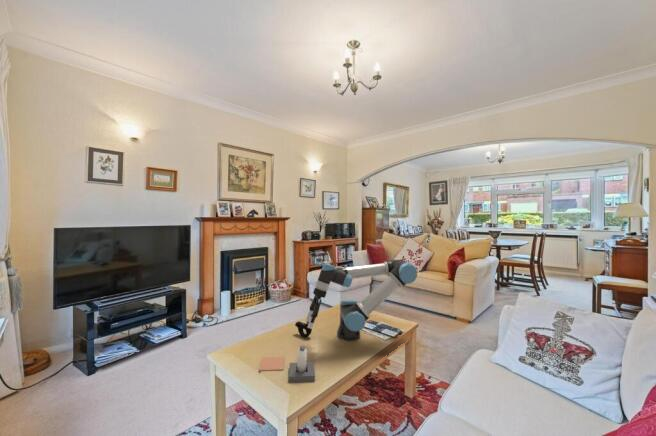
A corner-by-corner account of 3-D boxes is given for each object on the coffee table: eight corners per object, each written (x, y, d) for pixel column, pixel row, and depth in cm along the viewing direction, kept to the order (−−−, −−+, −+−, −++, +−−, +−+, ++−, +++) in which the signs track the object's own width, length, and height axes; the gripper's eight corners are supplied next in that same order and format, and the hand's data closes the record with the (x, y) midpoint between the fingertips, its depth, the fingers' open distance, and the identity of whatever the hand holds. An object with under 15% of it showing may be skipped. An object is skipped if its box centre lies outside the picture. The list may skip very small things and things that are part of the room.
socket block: (313, 367, 141) (313, 362, 141) (314, 382, 129) (314, 375, 129) (289, 368, 140) (289, 362, 140) (288, 383, 128) (289, 376, 128)
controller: (309, 339, 173) (309, 323, 172) (293, 334, 179) (294, 319, 179) (313, 337, 176) (313, 321, 176) (298, 332, 183) (298, 317, 183)
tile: (284, 358, 150) (284, 356, 150) (283, 371, 138) (283, 369, 138) (262, 359, 148) (262, 357, 148) (258, 372, 136) (259, 370, 136)
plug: (306, 371, 137) (306, 344, 137) (306, 376, 133) (307, 348, 132) (297, 371, 137) (297, 344, 136) (297, 376, 132) (297, 348, 132)
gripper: (313, 284, 175) (301, 316, 172) (317, 290, 150) (304, 329, 147) (324, 287, 175) (312, 320, 172) (330, 295, 151) (317, 333, 148)
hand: (308, 324), depth 160 cm, fingers open, 13 cm apart
